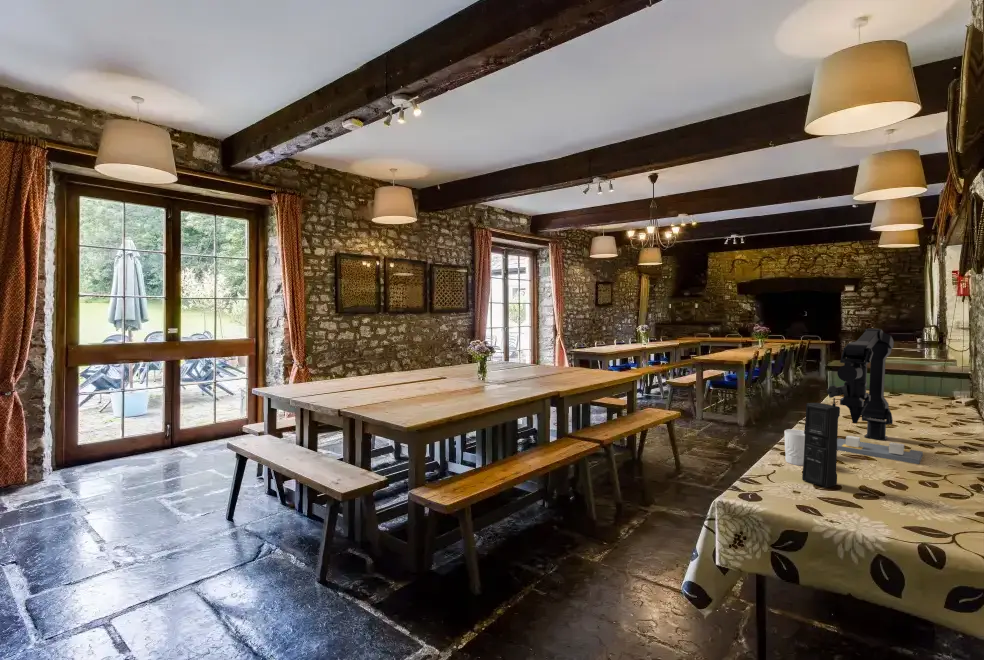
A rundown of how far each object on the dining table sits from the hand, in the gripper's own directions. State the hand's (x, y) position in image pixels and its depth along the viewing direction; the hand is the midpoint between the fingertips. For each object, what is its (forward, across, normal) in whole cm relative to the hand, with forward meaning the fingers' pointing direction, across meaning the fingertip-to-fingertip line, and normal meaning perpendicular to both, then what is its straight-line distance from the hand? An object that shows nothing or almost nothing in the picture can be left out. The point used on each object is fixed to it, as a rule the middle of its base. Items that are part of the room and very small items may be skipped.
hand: (854, 423), depth 175 cm
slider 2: (+8, +3, +12) cm, 14 cm away
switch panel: (+10, -1, +6) cm, 11 cm away
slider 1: (+8, +3, 0) cm, 8 cm away
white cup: (+10, +32, -10) cm, 35 cm away
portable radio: (+10, +49, -1) cm, 50 cm away
